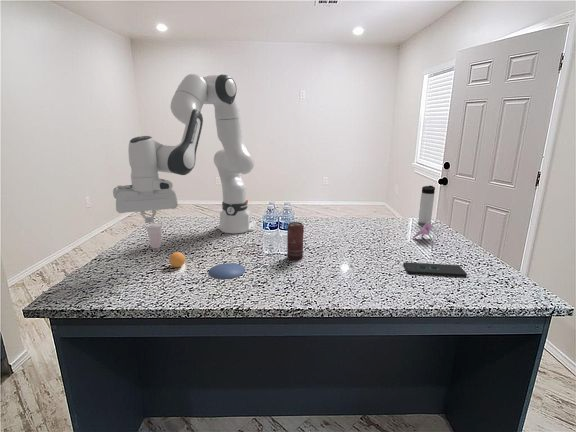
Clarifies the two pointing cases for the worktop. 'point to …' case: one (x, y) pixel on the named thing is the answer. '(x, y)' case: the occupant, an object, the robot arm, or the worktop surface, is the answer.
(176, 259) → the ball
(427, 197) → the travel mug
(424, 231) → the pink bird figurine
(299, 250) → the can
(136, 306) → the worktop surface
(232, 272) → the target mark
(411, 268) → the smart home device
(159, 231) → the smoothie
